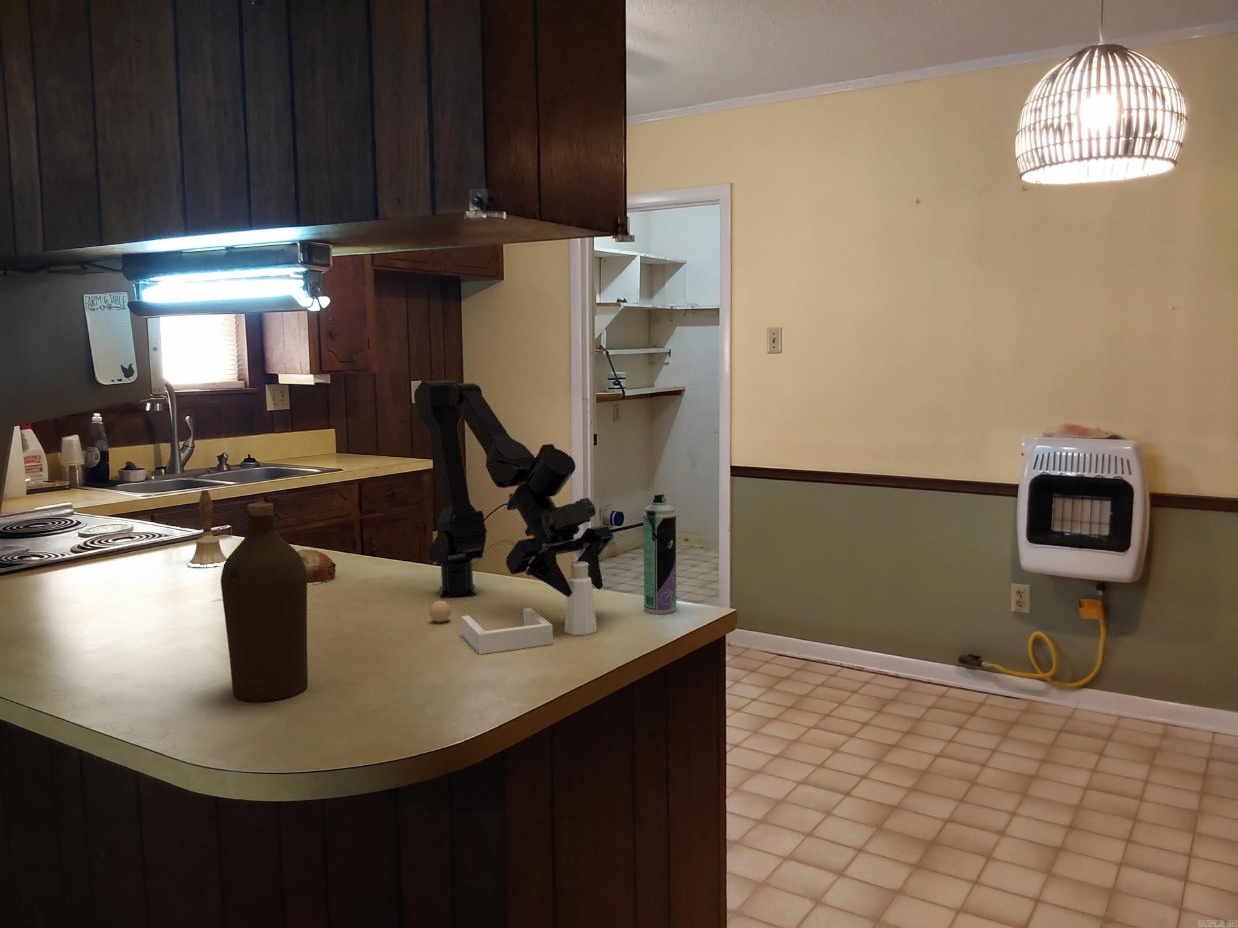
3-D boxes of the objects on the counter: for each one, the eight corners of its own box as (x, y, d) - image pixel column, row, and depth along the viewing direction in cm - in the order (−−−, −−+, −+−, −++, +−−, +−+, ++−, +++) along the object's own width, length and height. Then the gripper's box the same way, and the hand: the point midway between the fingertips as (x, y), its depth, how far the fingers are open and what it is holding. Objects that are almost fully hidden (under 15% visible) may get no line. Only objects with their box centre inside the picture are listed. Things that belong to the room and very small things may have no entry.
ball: (430, 619, 160) (429, 598, 160) (451, 618, 161) (450, 597, 161) (429, 625, 157) (429, 604, 157) (451, 623, 158) (450, 603, 157)
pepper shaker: (559, 627, 155) (558, 560, 153) (591, 624, 156) (590, 557, 155) (569, 637, 150) (568, 567, 148) (602, 633, 151) (601, 564, 150)
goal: (461, 634, 151) (461, 616, 151) (530, 625, 156) (530, 607, 155) (479, 654, 142) (478, 634, 141) (552, 644, 146) (552, 624, 146)
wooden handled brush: (238, 561, 207) (234, 488, 205) (207, 569, 200) (202, 493, 198) (210, 558, 211) (205, 486, 209) (179, 566, 203) (174, 491, 201)
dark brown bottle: (302, 702, 123) (291, 509, 120) (216, 706, 122) (204, 512, 119) (320, 674, 133) (311, 496, 130) (242, 677, 133) (231, 498, 130)
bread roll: (290, 594, 193) (270, 560, 191) (337, 568, 197) (318, 534, 194) (295, 605, 184) (274, 570, 182) (343, 578, 188) (323, 543, 185)
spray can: (673, 614, 161) (673, 497, 159) (641, 613, 162) (640, 496, 160) (678, 606, 167) (677, 492, 164) (647, 605, 168) (646, 491, 165)
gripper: (515, 489, 147) (562, 571, 140) (605, 477, 159) (652, 552, 153) (486, 533, 153) (530, 613, 147) (575, 518, 166) (619, 591, 159)
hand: (585, 591), depth 151 cm, fingers open, 6 cm apart
